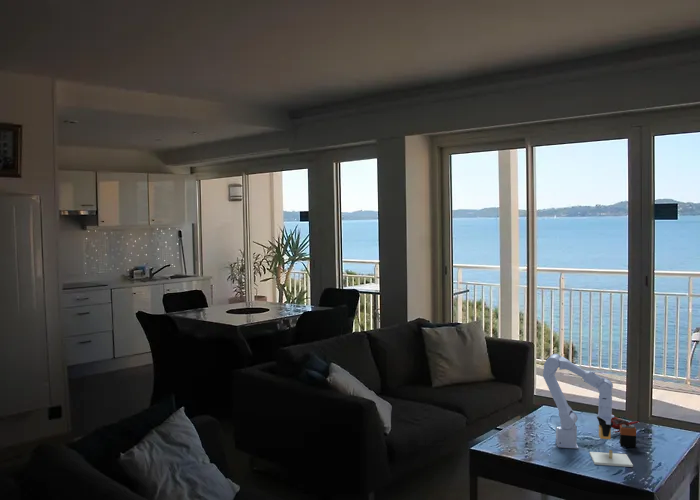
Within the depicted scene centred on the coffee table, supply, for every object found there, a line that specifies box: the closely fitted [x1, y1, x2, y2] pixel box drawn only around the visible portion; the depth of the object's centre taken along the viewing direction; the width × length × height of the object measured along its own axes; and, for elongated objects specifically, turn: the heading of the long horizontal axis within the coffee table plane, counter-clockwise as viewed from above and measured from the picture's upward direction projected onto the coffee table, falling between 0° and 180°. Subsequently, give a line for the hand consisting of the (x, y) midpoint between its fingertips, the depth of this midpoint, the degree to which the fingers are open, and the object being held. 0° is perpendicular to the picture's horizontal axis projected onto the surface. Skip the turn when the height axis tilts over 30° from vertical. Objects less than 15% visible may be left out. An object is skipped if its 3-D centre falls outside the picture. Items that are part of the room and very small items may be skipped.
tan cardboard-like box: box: [598, 425, 612, 440], centre depth 291 cm, size 4×4×5 cm
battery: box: [619, 424, 637, 448], centre depth 299 cm, size 4×7×10 cm, turn 75°
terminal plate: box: [589, 449, 634, 468], centre depth 282 cm, size 16×12×4 cm
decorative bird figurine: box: [611, 413, 640, 433], centre depth 315 cm, size 3×18×10 cm, turn 82°
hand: (604, 434), depth 291 cm, fingers closed on tan cardboard-like box, 4 cm apart
